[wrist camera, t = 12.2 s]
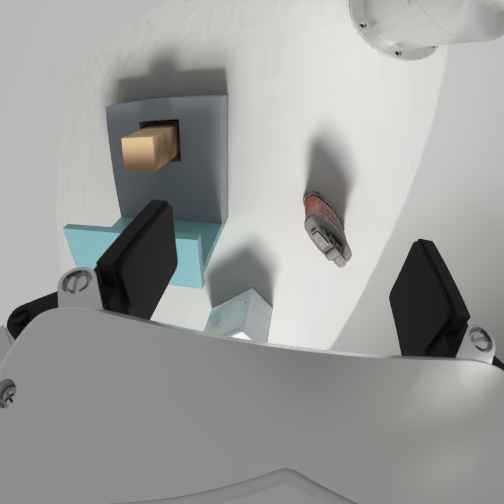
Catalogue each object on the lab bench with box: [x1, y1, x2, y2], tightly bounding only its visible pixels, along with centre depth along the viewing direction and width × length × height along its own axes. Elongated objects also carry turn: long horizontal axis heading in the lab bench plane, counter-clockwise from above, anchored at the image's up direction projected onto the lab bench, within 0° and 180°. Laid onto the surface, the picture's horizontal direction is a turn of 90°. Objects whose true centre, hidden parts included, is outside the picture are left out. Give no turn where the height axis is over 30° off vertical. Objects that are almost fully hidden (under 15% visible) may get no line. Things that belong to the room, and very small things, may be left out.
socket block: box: [63, 95, 228, 289], centre depth 32 cm, size 18×17×16 cm
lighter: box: [303, 191, 352, 268], centre depth 36 cm, size 8×3×10 cm, turn 44°
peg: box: [121, 121, 181, 172], centre depth 32 cm, size 4×4×10 cm
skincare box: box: [204, 288, 273, 343], centre depth 49 cm, size 10×6×10 cm, turn 129°
